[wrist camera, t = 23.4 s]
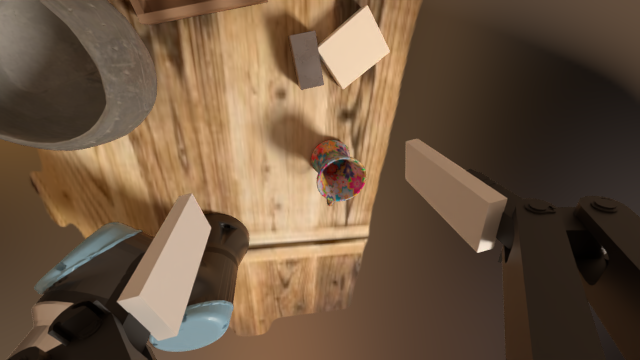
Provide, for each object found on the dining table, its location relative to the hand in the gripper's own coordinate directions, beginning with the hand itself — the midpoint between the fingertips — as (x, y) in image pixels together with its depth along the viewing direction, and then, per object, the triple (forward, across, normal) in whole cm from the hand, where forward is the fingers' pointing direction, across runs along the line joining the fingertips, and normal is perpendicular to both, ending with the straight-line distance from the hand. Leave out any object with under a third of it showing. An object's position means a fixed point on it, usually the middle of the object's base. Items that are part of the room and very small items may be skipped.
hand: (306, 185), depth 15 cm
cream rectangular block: (+35, +13, +4) cm, 38 cm away
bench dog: (+35, +5, +4) cm, 35 cm away
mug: (+35, +6, -17) cm, 39 cm away
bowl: (+35, -27, +10) cm, 45 cm away
